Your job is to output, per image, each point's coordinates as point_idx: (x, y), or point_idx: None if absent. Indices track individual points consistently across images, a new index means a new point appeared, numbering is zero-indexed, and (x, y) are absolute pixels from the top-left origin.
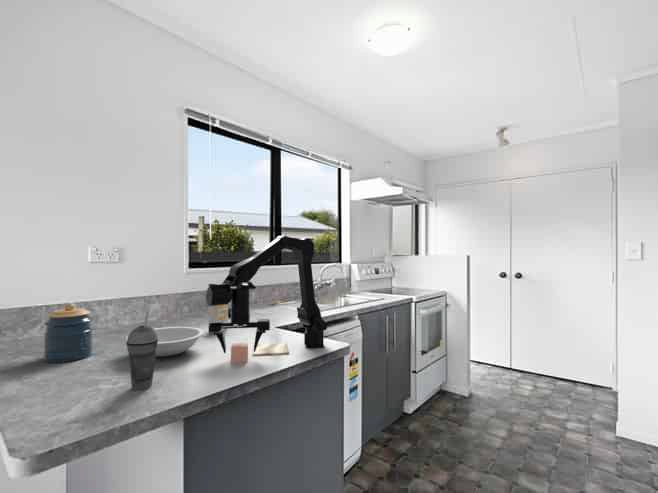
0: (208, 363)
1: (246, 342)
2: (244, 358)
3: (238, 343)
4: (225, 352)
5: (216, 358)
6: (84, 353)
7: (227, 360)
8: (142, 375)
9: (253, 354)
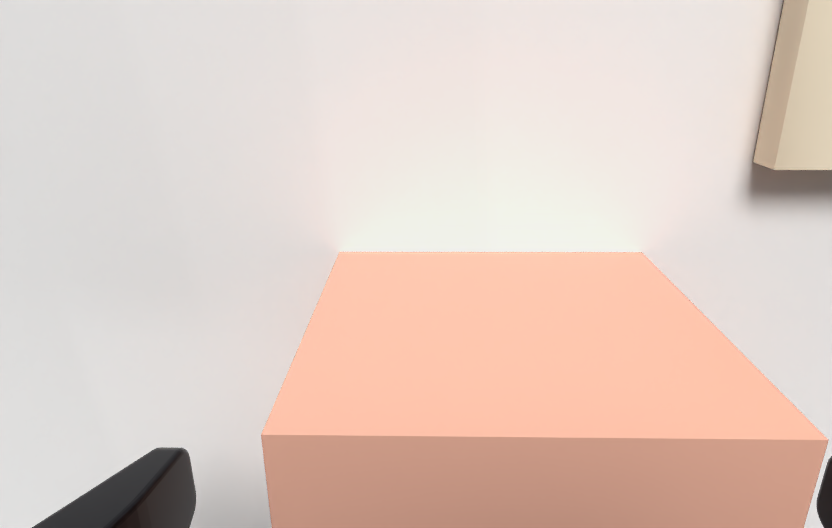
0: (5, 466)
1: (765, 448)
2: None
3: (479, 522)
4: (191, 515)
5: (37, 226)
6: None
7: (274, 371)
8: None
9: (780, 168)
